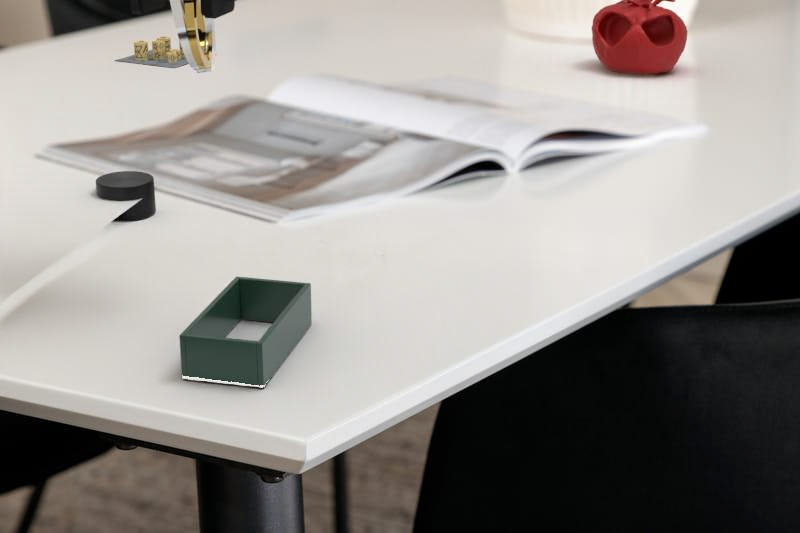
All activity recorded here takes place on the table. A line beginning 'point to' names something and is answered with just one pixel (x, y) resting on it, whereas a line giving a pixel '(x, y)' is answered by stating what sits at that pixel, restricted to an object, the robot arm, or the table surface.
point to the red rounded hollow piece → (638, 37)
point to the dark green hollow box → (246, 358)
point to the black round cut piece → (129, 192)
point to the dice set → (157, 54)
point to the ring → (195, 34)
